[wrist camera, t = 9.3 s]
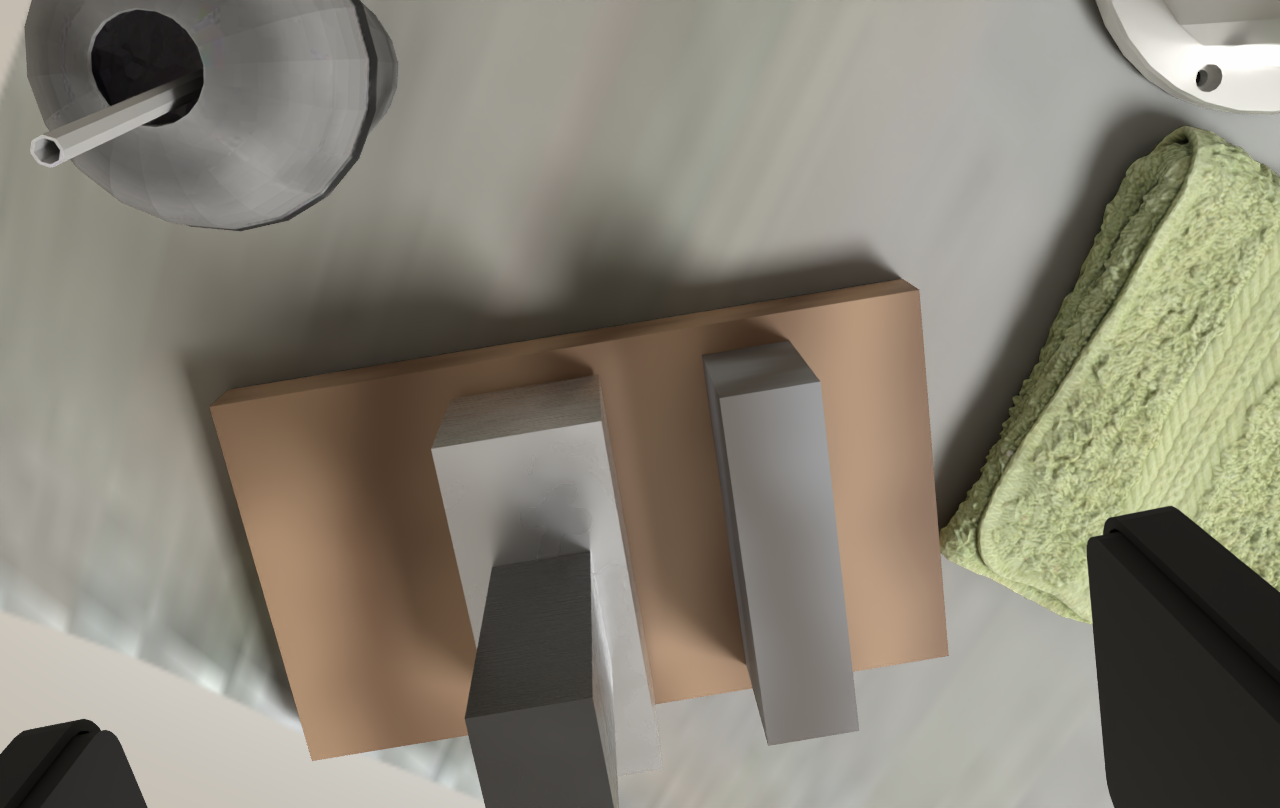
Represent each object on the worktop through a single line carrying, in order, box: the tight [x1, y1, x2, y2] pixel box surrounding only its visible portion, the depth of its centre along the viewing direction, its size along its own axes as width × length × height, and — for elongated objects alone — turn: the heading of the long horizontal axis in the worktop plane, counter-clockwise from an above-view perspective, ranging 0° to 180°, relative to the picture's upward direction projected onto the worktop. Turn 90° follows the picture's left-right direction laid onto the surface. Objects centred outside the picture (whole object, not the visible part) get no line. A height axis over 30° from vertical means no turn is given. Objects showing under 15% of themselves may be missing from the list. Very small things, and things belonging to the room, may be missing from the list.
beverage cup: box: [25, 0, 398, 231], centre depth 26 cm, size 7×7×20 cm
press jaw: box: [431, 374, 663, 808], centre depth 32 cm, size 5×13×13 cm, turn 9°
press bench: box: [209, 279, 949, 761], centre depth 37 cm, size 24×14×7 cm, turn 99°
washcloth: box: [939, 126, 1280, 624], centre depth 39 cm, size 13×18×3 cm
